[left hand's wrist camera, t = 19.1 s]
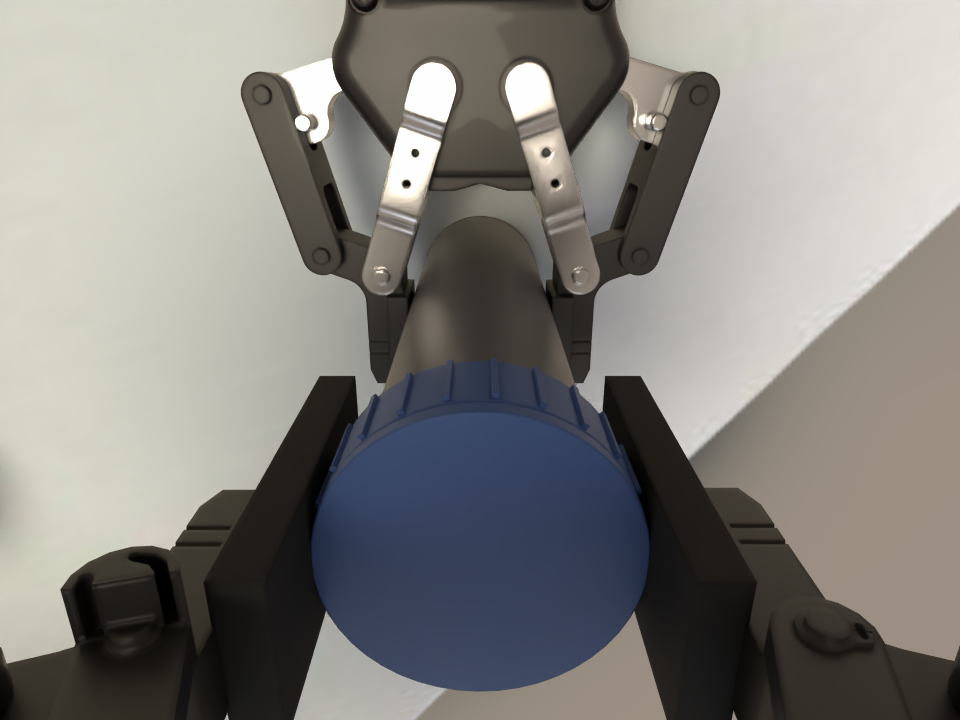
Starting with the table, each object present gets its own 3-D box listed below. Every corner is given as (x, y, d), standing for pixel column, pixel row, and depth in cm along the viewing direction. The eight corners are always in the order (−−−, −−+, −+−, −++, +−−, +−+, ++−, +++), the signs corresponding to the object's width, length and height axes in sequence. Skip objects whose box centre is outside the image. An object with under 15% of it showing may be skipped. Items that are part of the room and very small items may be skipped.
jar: (546, 228, 28) (651, 442, 11) (521, 332, 29) (579, 660, 12) (435, 206, 27) (362, 390, 10) (417, 312, 29) (328, 622, 12)
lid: (340, 608, 14) (317, 694, 12) (320, 351, 12) (289, 403, 10) (614, 612, 14) (636, 697, 12) (643, 356, 12) (675, 408, 10)
